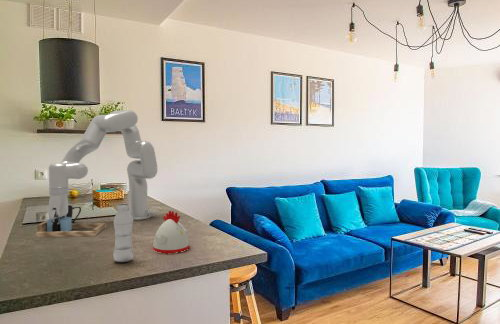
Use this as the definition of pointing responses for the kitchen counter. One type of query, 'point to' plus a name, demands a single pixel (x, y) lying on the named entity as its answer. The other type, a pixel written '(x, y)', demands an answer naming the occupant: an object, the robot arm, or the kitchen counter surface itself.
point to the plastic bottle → (123, 234)
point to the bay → (97, 229)
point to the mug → (70, 212)
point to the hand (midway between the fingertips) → (59, 230)
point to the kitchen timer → (171, 235)
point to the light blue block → (61, 224)
